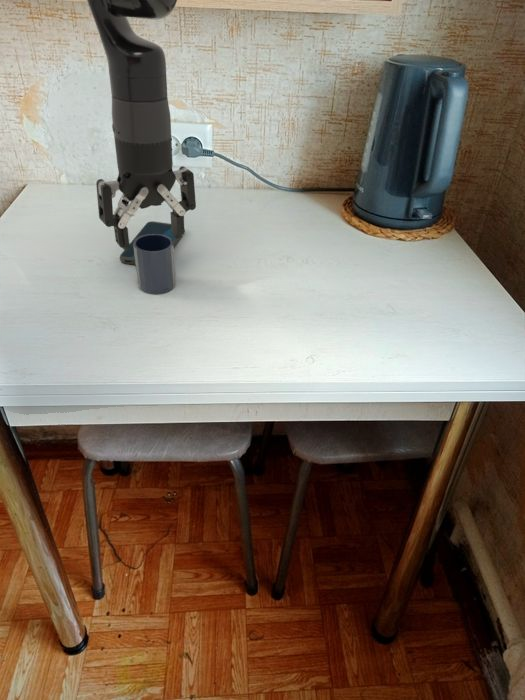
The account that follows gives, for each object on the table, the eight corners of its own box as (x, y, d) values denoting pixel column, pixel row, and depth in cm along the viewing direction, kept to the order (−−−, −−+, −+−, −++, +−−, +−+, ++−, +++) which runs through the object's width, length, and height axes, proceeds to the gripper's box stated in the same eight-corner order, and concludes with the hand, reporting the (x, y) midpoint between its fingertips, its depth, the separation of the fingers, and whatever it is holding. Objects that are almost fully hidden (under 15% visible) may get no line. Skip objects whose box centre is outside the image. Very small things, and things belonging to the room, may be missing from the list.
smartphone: (117, 262, 87) (117, 257, 87) (148, 224, 99) (148, 220, 98) (160, 268, 86) (160, 263, 86) (186, 229, 98) (186, 225, 97)
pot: (147, 298, 80) (143, 255, 75) (132, 280, 83) (127, 238, 79) (181, 288, 82) (179, 246, 78) (165, 271, 86) (162, 230, 81)
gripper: (100, 147, 62) (116, 264, 72) (203, 134, 69) (204, 242, 79) (80, 130, 67) (97, 242, 77) (178, 119, 74) (182, 223, 84)
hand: (151, 242), depth 78 cm, fingers open, 8 cm apart
